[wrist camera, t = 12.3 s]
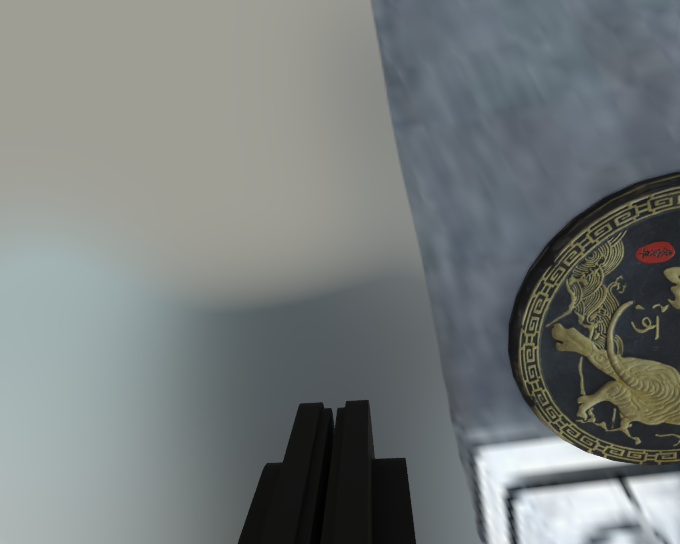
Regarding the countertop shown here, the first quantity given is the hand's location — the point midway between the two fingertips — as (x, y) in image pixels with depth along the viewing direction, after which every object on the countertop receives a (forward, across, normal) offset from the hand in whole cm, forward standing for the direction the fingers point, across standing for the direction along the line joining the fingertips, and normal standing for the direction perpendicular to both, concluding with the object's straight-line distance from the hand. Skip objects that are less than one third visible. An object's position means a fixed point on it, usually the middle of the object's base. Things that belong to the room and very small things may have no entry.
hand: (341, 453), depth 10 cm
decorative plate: (+30, -28, +12) cm, 43 cm away
